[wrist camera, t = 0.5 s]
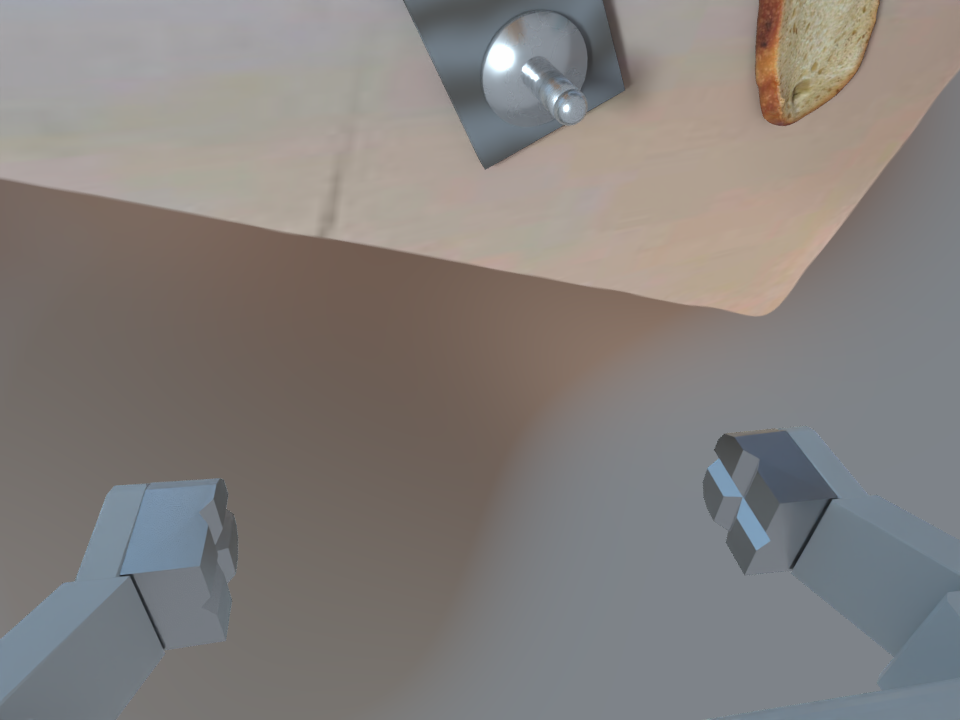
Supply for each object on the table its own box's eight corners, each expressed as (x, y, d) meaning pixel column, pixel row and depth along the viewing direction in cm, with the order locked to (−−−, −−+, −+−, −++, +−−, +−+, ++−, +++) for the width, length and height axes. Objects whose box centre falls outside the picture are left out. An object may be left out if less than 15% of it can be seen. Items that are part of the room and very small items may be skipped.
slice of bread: (801, -153, 50) (833, -147, 48) (926, -52, 59) (959, -43, 56) (670, 74, 60) (691, 90, 57) (794, 132, 69) (817, 147, 66)
